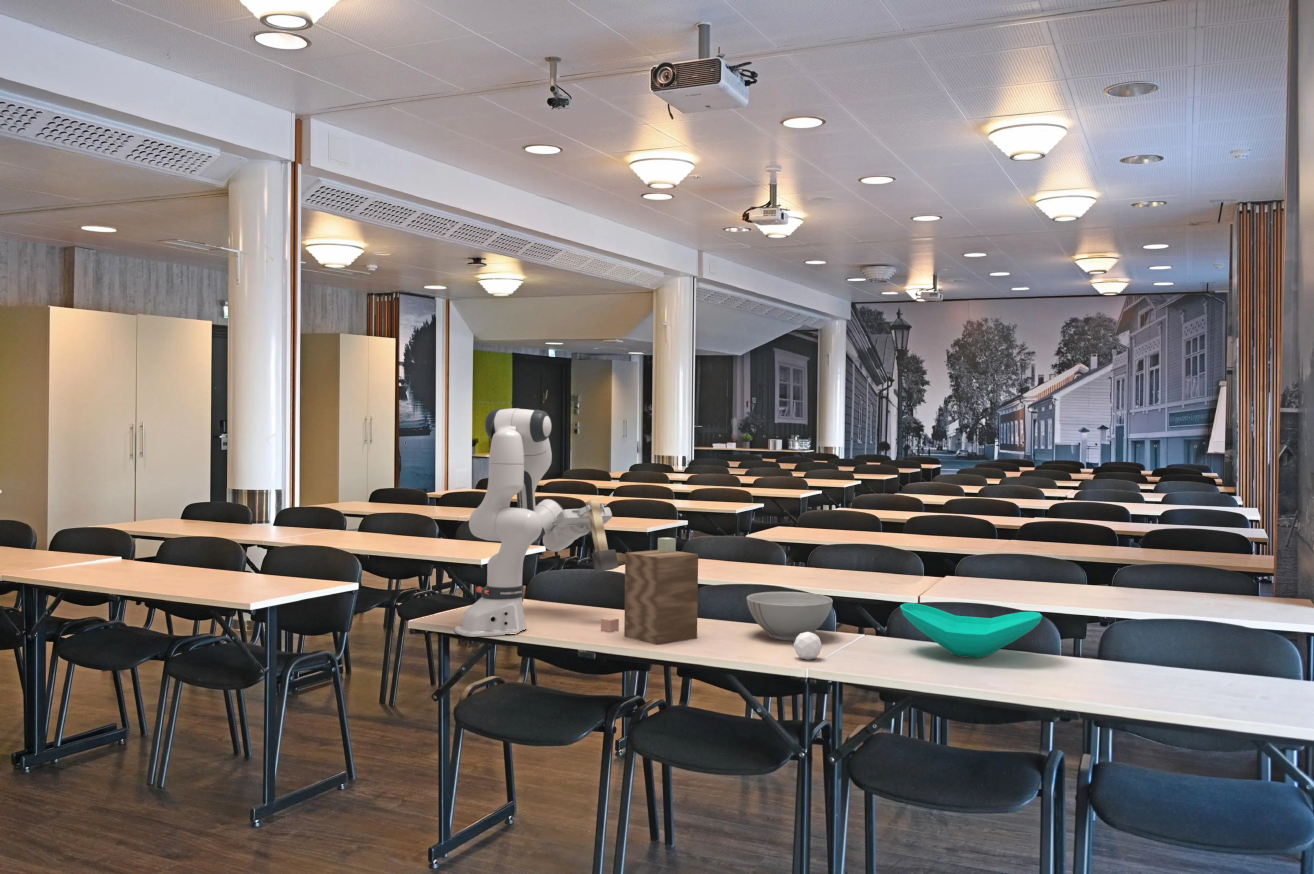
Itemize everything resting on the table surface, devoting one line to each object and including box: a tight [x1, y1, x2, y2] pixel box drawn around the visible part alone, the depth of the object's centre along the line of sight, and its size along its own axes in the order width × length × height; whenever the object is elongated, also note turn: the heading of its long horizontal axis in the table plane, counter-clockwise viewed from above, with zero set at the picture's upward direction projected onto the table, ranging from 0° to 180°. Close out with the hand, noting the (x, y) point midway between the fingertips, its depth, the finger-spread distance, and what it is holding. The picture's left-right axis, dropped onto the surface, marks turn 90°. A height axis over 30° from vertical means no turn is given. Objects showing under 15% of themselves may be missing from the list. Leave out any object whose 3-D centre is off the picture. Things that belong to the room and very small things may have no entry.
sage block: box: [657, 537, 677, 552], centre depth 331 cm, size 4×4×4 cm
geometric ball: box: [793, 632, 823, 661], centre depth 297 cm, size 8×8×8 cm
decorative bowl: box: [746, 591, 834, 641], centre depth 329 cm, size 27×27×12 cm
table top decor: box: [899, 602, 1043, 659], centre depth 304 cm, size 40×28×13 cm
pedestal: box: [623, 549, 699, 646], centre depth 325 cm, size 16×16×26 cm
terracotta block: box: [600, 616, 620, 634], centre depth 334 cm, size 4×4×4 cm
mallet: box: [585, 499, 619, 572], centre depth 349 cm, size 24×7×4 cm
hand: (596, 506), depth 350 cm, fingers closed on mallet, 3 cm apart
